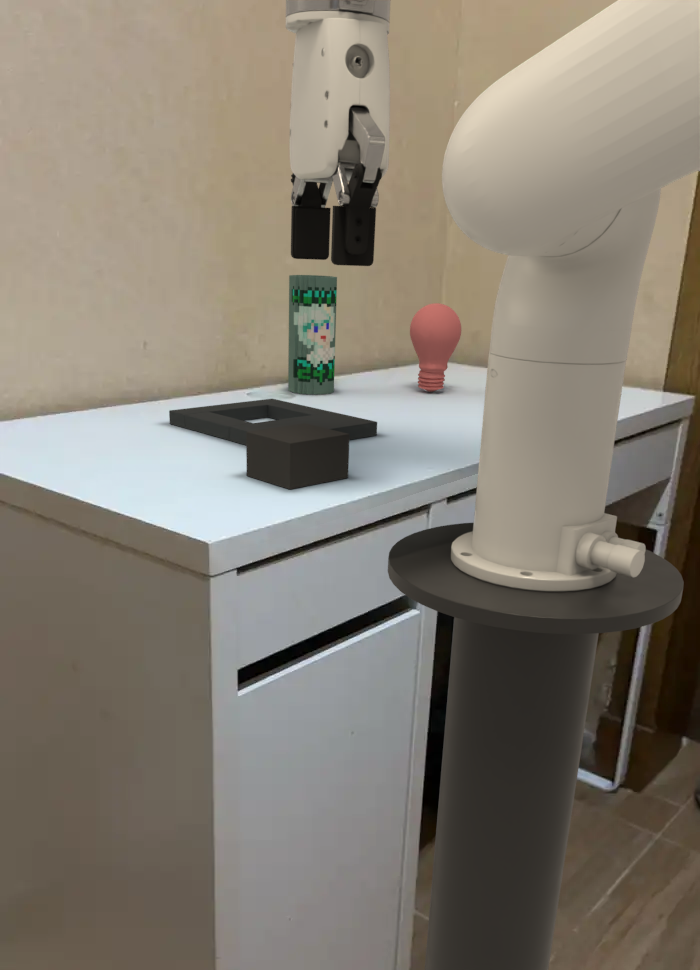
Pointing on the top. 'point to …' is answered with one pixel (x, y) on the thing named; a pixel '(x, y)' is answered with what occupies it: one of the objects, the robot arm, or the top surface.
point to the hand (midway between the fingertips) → (329, 261)
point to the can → (312, 334)
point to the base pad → (232, 427)
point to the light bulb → (434, 342)
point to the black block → (297, 455)
